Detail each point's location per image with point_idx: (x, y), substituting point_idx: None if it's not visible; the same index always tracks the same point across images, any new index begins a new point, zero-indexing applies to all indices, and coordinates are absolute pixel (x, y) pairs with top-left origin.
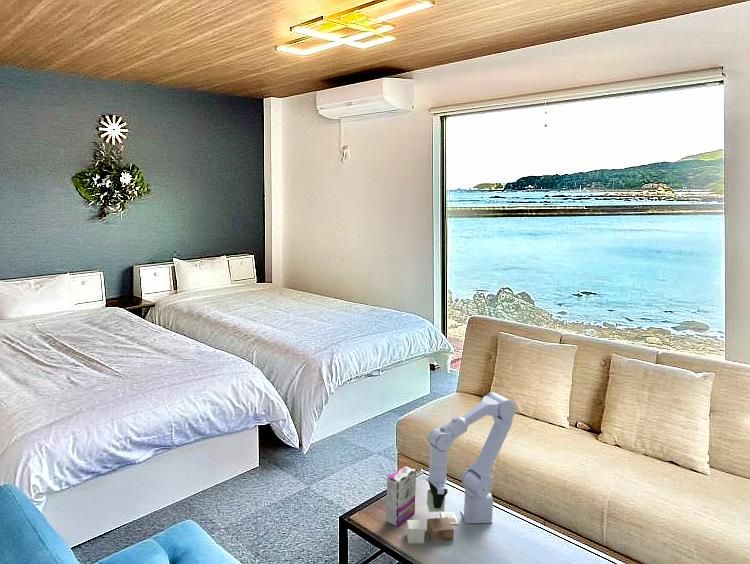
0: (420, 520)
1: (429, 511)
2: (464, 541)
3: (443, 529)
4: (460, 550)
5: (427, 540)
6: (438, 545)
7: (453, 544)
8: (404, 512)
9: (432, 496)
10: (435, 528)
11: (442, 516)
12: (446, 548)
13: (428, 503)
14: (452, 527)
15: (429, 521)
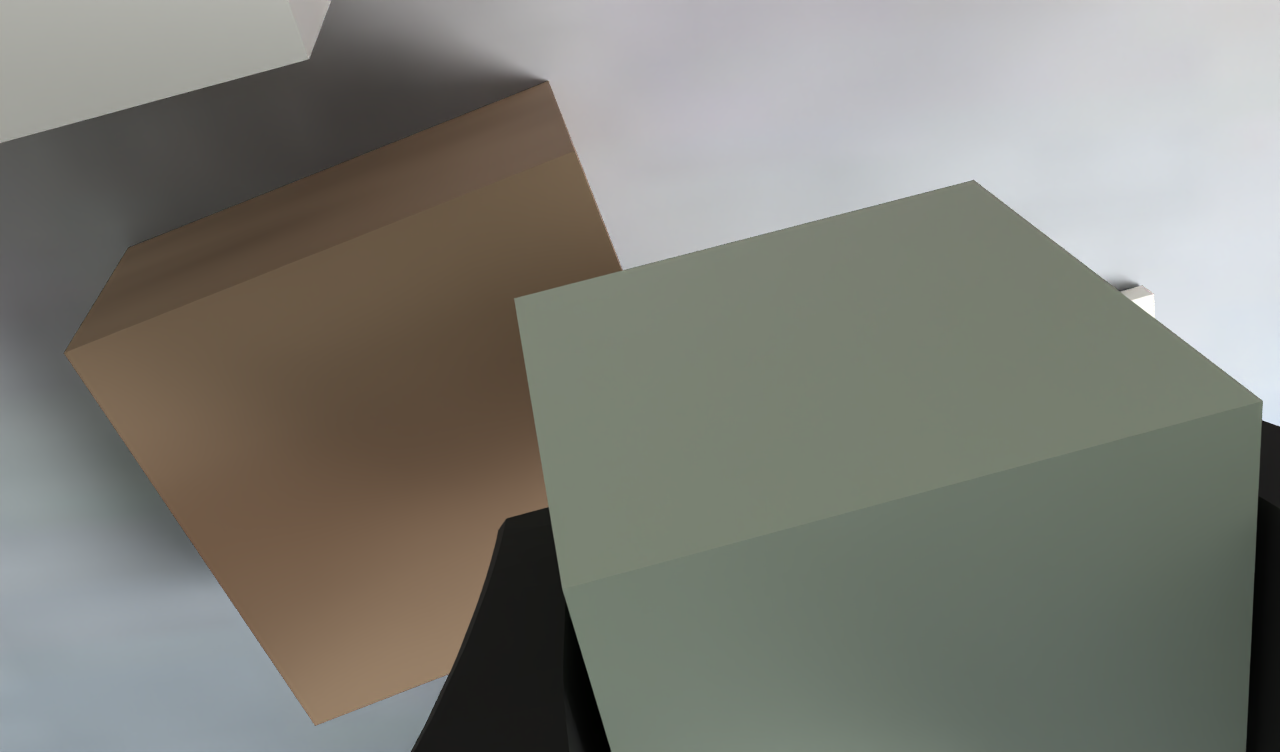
0: (260, 10)
1: (516, 307)
2: (352, 729)
3: (227, 552)
4: (66, 708)
5: (132, 142)
6: (49, 368)
7: (197, 597)
8: None
9: (680, 666)
10: (198, 391)
11: None
12: (17, 508)
13: (759, 305)
14: (375, 694)
15: (466, 220)
